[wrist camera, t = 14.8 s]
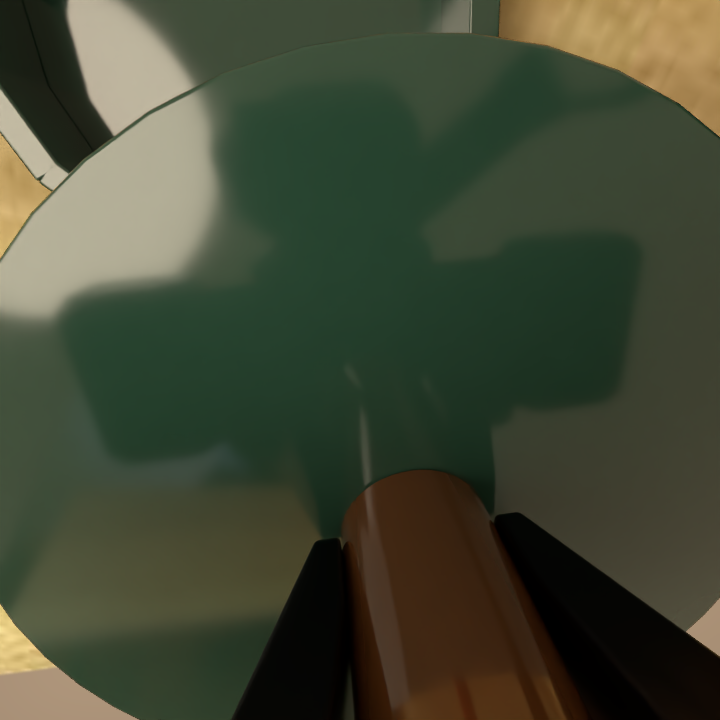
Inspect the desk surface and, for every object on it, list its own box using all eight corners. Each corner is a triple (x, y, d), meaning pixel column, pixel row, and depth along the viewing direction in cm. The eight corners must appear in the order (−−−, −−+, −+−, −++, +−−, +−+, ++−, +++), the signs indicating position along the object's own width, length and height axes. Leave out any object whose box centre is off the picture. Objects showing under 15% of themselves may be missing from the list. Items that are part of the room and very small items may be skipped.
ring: (465, -306, 11) (521, -475, 8) (458, 236, 17) (490, 251, 14) (-94, -299, 11) (-255, -487, 8) (87, 270, 16) (36, 293, 13)
